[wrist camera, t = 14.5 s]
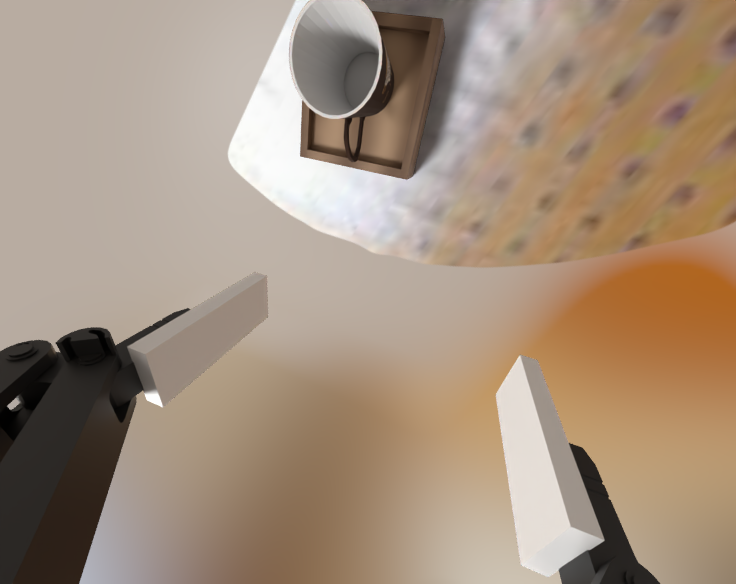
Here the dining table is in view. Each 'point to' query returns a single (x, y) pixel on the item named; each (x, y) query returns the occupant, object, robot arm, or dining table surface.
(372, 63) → the coffee mug
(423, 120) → the wooden tray
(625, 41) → the dining table surface
